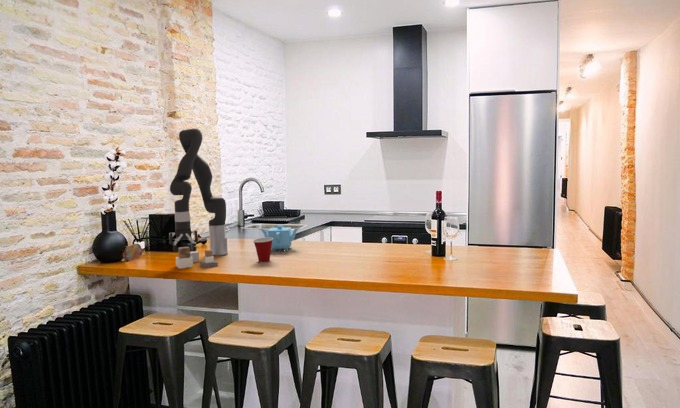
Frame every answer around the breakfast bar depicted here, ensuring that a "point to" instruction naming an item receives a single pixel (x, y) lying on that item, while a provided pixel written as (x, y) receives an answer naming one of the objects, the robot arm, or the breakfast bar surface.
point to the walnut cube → (184, 252)
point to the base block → (184, 262)
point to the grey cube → (195, 256)
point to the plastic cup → (263, 248)
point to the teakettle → (280, 237)
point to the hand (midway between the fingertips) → (184, 251)
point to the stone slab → (132, 252)
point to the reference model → (209, 259)
